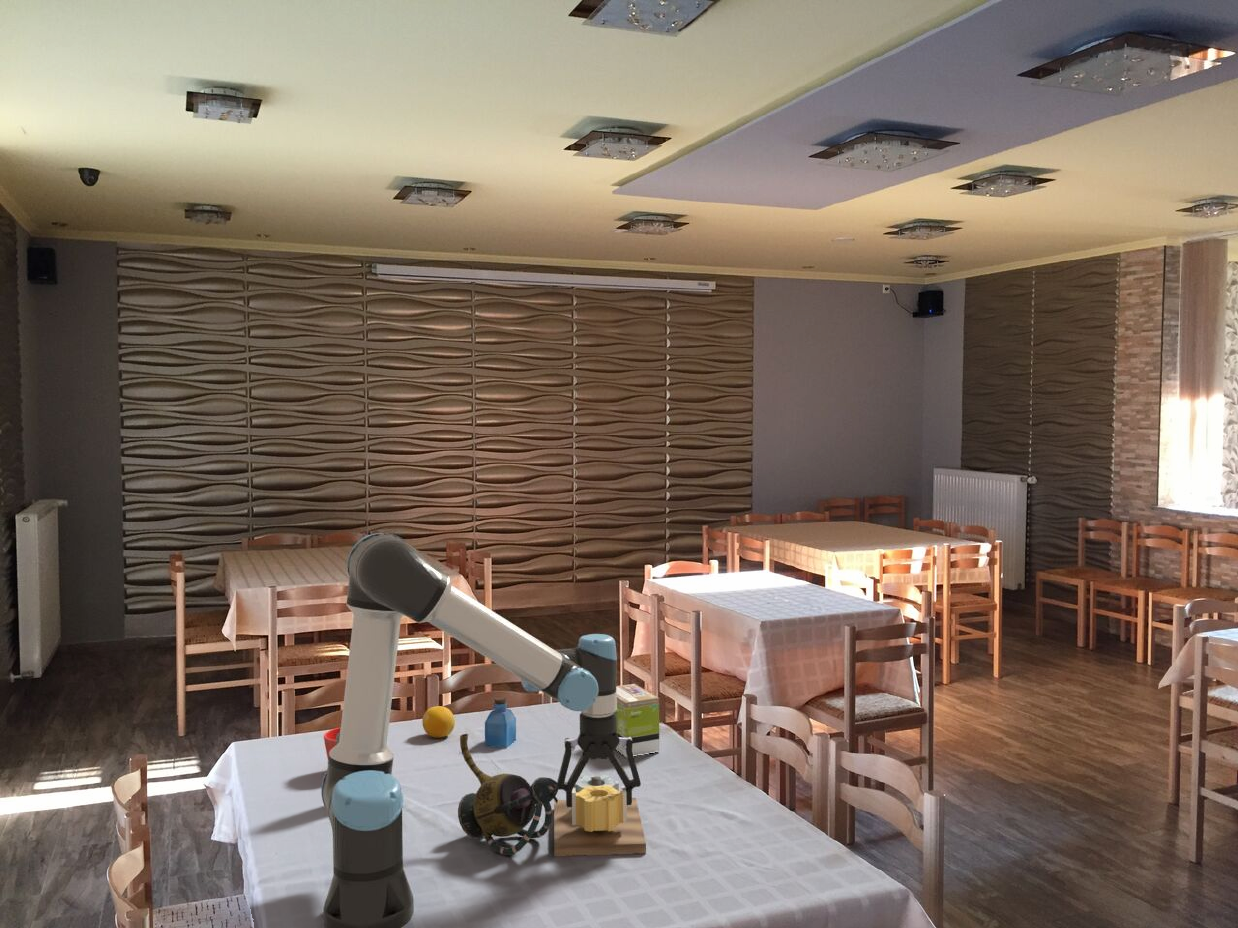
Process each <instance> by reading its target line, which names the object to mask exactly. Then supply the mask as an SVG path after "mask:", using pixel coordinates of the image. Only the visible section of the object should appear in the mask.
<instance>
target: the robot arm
mask: <svg viewBox="0 0 1238 928" xmlns="http://www.w3.org/2000/svg"><path fill="white" fill-rule="evenodd" d="M346 569H347V573H348V576H349V578H348V587H347V598H346V604H345V605H346V607H347V608H348V609H349V610H350V612H351V613H352V614H353V617H352V618H353V619H352V627H351V635H350V636H351V637H350V644H349V653H348V662H347V668H346V669H347V671H346V677H345V680H346V681H345V687H344V695H343V706H342V713H341V714H342V715H341V720H342V721H341V720H340V721H341V722H340V727H341V730H340V739H339V743H338V744H337V745H336V746H335V747H333V748H332V749H331V750H330V752H329V760H328V759H327V768H326V771H325V773H324V775H323V779H322V783H321V792H320V793H321V799H322V803H323V806H324V807H325V810H326V813H327V817H328V819H329V823H330V826H331V829H332V830H331V831H332V860H333V861H332V863H333V867H332V869H333V875H332V876H333V877H332V880H331V882H330V886H329V889H328V892H327V895H326V898H325V901H324V904H323V905H324V906H323V925H324V927H325V928H400V927H402V926H403V925H405V924H406V923H407V922H409V921H410V920H411V919H412V916H413V915H414V912H415V911H414V910H415V908H414V907H415V905H414V904H415V903H414V902H415V901H414V895H413V891H412V889H411V886H410V883H409V881H408V878H407V875H406V872H405V870H404V860H403V859H404V856H403V855H404V852H403V851H404V850H403V849H404V848H403V806H404V795H403V791H402V786H401V783H400V781H399V780H398V779H397V778H396V777H395V776H394V775H392V774H393V773H392V772H393V763H394V752H393V751H392V750H391V749H390V748H389V747H388V745H387V743H388V737H389V735H388V734H389V727H390V717H391V708H392V699H393V693H394V682H395V673H396V666H397V665H396V664H397V658H398V657H397V655H398V648H399V647H398V646H399V639H400V631H401V622H402V618H403V617H404V616H405V617H407V618H409V619H411V620H412V621H413V622H416V623H418V624H422V623H426V622H427V623H429V624H430V625H432V626H434V627H436V628H437V629H438V630H440V631H442V632H444V633H445V634H447V635H448V636H451V637H452V638H454V640H455V639H456V640H457V641H458V642H460V643H462V644H464V645H465V646H467V647H468V648H471V649H472V650H473V651H475V652H477V653H479V654H480V655H482V656H483V657H485V658H487V659H488V660H490V661H492V662H493V663H495V664H497V665H498V666H499V667H502V668H503V669H504V670H506V671H509V672H510V673H512V674H513V675H514V676H516V677H518V678H519V679H520V682H521V683H520V684H521V686H522V687H523V689H524V690H525V691H526V692H539V693H540V692H542V693H544V694H545V695H547V696H548V697H550V698H551V699H553V700H555V701H557V702H558V703H559V704H560V705H561V706H562V707H563V708H565V709H568V710H570V711H573V712H580V714H579V735H578V737H577V738H569V737H566V738H565V739H564V749H565V750H564V754H563V758H562V761H561V765H560V770H559V774H558V777H557V781H556V782H557V783H558V785H559V789H558V791H559V790H562V791H564V792H565V800H566V805H567V807H572V825H576V790H575V788H574V786H575V784H576V782H577V781H579V778H580V776H581V775H582V773H583V770H584V769H585V767H586V765H587V764H588V762H589V760H590V759H591V760H596V759H597V760H598V759H601V760H607V758H608V759H609V761H610V763H611V764H612V766H613V768H614V769H615V771H616V774H617V775H618V778H620V780H621V782H622V784H623V785H624V786H621V791H622V794H623V823H627V805H631V804H632V798H633V789H634V788H639V787H641V784H642V782H641V779H640V775H639V772H638V768H637V764H636V760H635V757H634V756H633V753H632V744H633V742H632V738H631V737H630V736H627V737H626V738H622V737H619V736H618V734H617V714H616V713H615V711H616V710H617V690H616V686H617V662H618V661H617V660H618V656H617V647H616V640H615V639H614V638H613V636H611V635H609V634H605V633H602V634H601V633H591V634H585V635H582V636H580V638H579V639H578V644H577V646H576V647H573V648H563V649H553V648H552V647H550V646H549V645H547V644H546V643H544V642H543V641H541V640H540V639H537V638H536V637H535V636H533V635H531V634H529V633H528V632H526V631H525V630H523V629H522V628H520V627H519V626H517V625H516V624H514V623H512V622H511V621H509V620H508V619H506V618H505V617H503V616H501V615H500V614H498V613H496V611H494V610H492V609H490V608H489V607H487V606H485V605H484V604H482V603H481V602H479V601H478V600H476V599H474V598H473V597H471V596H470V595H468V594H466V593H465V592H463V591H462V590H460V589H458V587H456V586H454V585H452V584H451V579H450V577H449V575H447V574H446V573H444V572H443V571H441V570H440V569H439V568H437V567H436V566H434V565H433V564H431V563H430V561H428V560H427V559H426V558H425V557H424V556H423V555H422V554H421V553H420V552H419V551H418V550H416V549H415V547H414V546H412V545H410V544H409V543H408V542H406V541H405V540H404V539H403V538H402V537H400V536H398V535H396V534H392V533H387V532H377V533H372V534H369V535H366V536H364V537H363V538H361V539H360V540H359V541H357V543H355V544H354V546H352V549H351V550H350V552H349V555H348V558H347V563H346ZM618 744H621V745H622V748H623V749H626V754H627V758H626V759H627V761H628V763H629V764H628V765H629V768H630V771H631V775H632V779H630V778H629V776H628V774H627V773H626V771H625V769H624V768H623V765H622V764H621V762H620V760H619V758H618V757H617V754H616V753H615V751H616V750H615V748H616V747H617V746H618ZM577 746H578V747H579V748H580V749H581V751H582V753H581V755H580V757H579V759H578V760H577V763H576V765H575V767H574V769H573V770H572V772H571V774H570V775H569V777H568V780H567V781H566V777H567V774H568V770H569V765H570V762H571V761H570V760H571V758H572V752H574V751H575V749H576V747H577Z"/></svg>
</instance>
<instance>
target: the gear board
mask: <svg viewBox="0 0 1238 928" xmlns="http://www.w3.org/2000/svg"><path fill="white" fill-rule="evenodd" d="M594 776H595V777H592V786H601V777H598V776H599V775H594ZM595 797H603V796H595ZM553 809H554V810H553V811H554V813H553V825H554V826H553V827H554V828H553V831H554V834H553V836H554V837H553V839H554V841H553V842H554V843H553V844H554V845H553V847H554V853H553V854H554V855H553V856H557V857H568V856H567V855H587V856H610V855H611V856H612V854H618V855H634V854H633V853H646V854H647V842H646V837H645V833H644V827H643V824H642V820H641V815H640V811H639V806H638V802H637V797H632V804H631V805H627V823H619V825H617V826H616V827H615V828H616V829H615V830H612V831H607V830H603V831H592V832H589V831H585V828H583V827H582V826H580V825H572V807H567V805H566V799H558V802H557V803H556V801H555V800H554V799H553ZM627 853H629V854H627Z"/></svg>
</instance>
